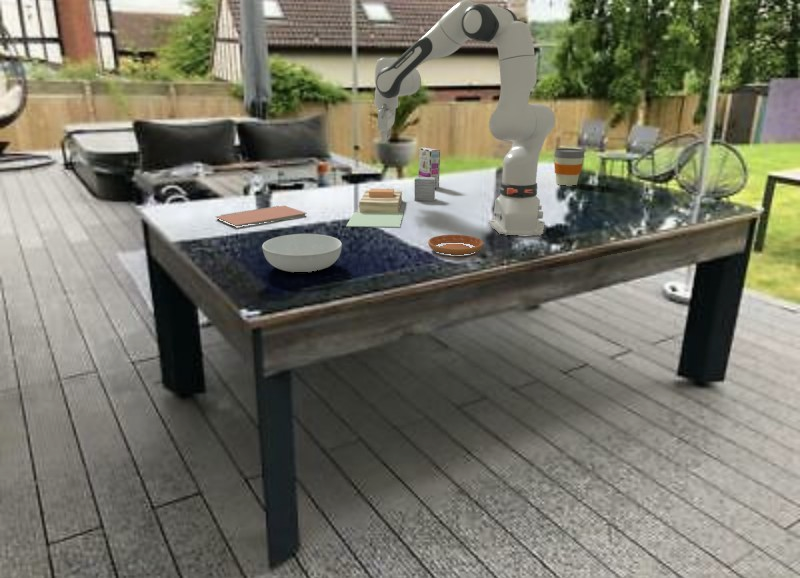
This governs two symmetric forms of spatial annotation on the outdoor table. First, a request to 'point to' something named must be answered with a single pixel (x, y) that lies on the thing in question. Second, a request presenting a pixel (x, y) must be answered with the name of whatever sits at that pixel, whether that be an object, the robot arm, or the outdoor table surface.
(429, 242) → the saucer
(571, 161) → the reusable coffee cup
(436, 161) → the candy bar box
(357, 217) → the mat
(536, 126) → the robot arm
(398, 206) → the plate
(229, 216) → the notebook
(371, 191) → the orange rectangular block
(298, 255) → the serving bowl
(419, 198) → the medicine box
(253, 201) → the outdoor table surface
